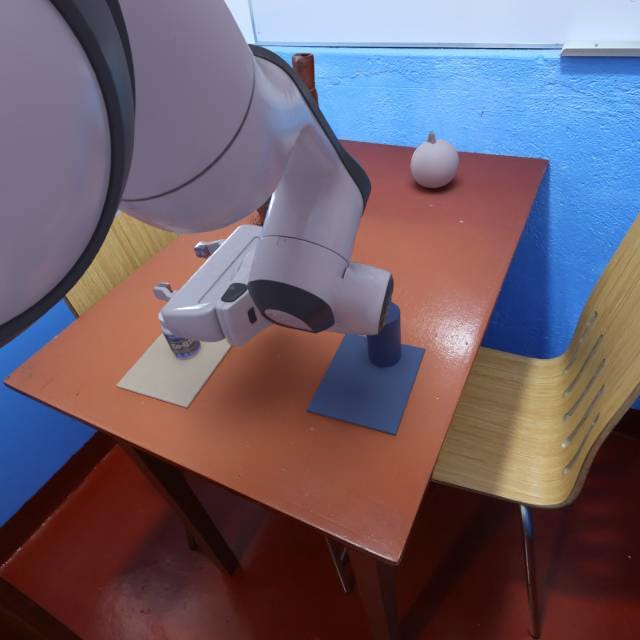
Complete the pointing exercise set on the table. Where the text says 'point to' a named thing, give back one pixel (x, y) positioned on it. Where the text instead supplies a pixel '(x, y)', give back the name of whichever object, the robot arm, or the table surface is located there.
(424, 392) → the table surface
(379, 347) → the blue canister
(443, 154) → the ornament
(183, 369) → the cream mat
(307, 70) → the vase
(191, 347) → the pill bottle
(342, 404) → the blue mat
